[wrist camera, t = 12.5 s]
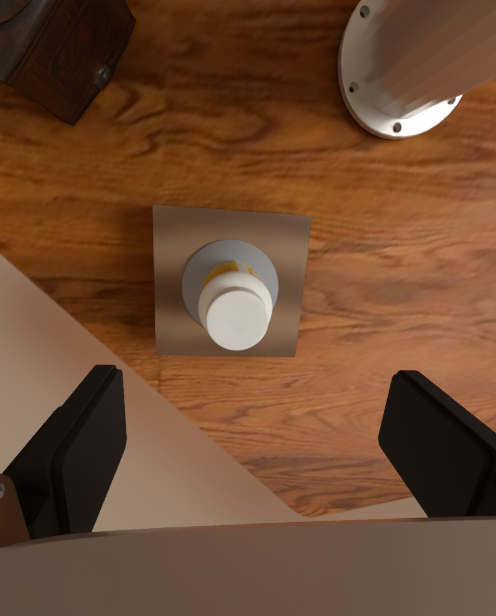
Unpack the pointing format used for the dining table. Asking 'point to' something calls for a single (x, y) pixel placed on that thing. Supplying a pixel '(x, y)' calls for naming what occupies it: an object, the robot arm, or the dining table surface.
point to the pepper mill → (62, 50)
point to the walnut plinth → (214, 250)
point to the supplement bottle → (235, 305)
